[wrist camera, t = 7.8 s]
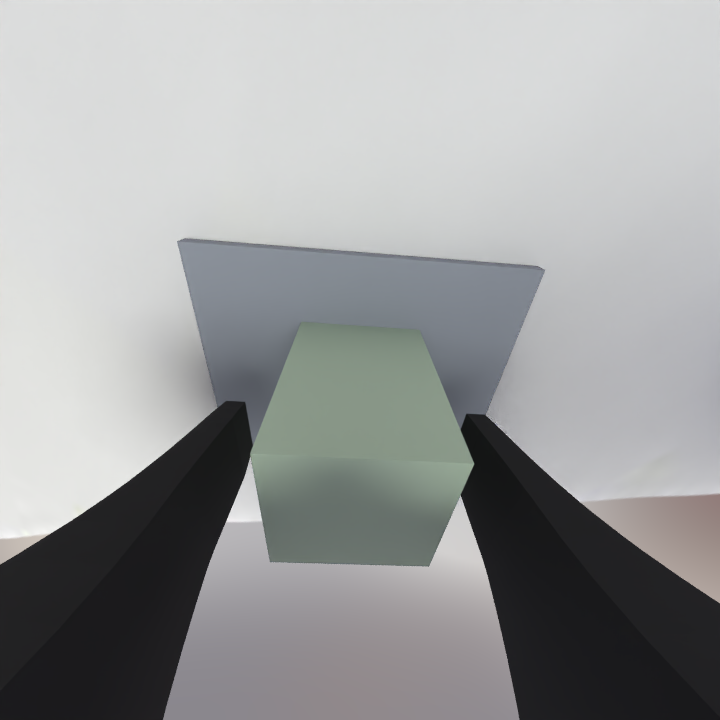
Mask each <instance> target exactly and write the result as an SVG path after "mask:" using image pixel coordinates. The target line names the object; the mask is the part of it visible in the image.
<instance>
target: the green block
mask: <svg viewBox="0 0 720 720" xmlns="http://www.w3.org/2000/svg"><path fill="white" fill-rule="evenodd" d="M250 456H251V461H252V467H253V472H254V478H255V483H256V488H257V494H258V499H259V505H260V510H261V516H262V521H263V526H264V532H265V538H266V543H267V548H268V554H269V559H270V562H288V563H325V564H326V563H327V564H361V565H396V566H429V565H430V563H431V561H432V558H433V556H434V554H435V552H436V549H437V547H438V545H439V542H440V540H441V538H442V536H443V533H444V531H445V529H446V527H447V524H448V522H449V520H450V518H451V515H452V513H453V511H454V509H455V506H456V504H457V502H458V500H459V497H460V495H461V493H462V490H463V488H464V486H465V484H466V481H467V479H468V477H469V475H470V472H471V470H472V468H473V466H474V462H473V460H472V457H471V455H470V452H469V450H468V447H467V445H466V443H465V440H464V438H463V435H462V433H461V430H460V428H459V425H458V423H457V420H456V418H455V416H454V413H453V411H452V408H451V406H450V403H449V401H448V398H447V396H446V394H445V391H444V389H443V386H442V384H441V381H440V379H439V376H438V374H437V371H436V369H435V367H434V364H433V362H432V359H431V357H430V354H429V352H428V349H427V347H426V344H425V342H424V340H423V337H422V335H421V332H420V330H415V329H400V328H385V327H371V326H356V325H341V324H327V323H312V322H301V324H300V326H299V329H298V331H297V334H296V337H295V339H294V342H293V344H292V347H291V350H290V352H289V355H288V357H287V360H286V362H285V365H284V368H283V370H282V373H281V375H280V378H279V380H278V383H277V386H276V388H275V391H274V393H273V396H272V398H271V401H270V404H269V406H268V409H267V411H266V414H265V417H264V419H263V422H262V424H261V427H260V429H259V432H258V435H257V437H256V440H255V442H254V445H253V447H252V450H251V453H250Z"/></svg>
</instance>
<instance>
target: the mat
mask: <svg viewBox="0 0 720 720" xmlns="http://www.w3.org/2000/svg"><path fill="white" fill-rule="evenodd" d="M177 243H178V247H179V251H180V255H181V259H182V264H183V268H184V272H185V276H186V280H187V284H188V288H189V292H190V296H191V300H192V305H193V309H194V313H195V317H196V321H197V325H198V329H199V333H200V337H201V341H202V346H203V350H204V354H205V358H206V362H207V366H208V370H209V374H210V378H211V382H212V386H213V391H214V395H215V399H216V403H217V407H219V406H220V405H222V404H223V403H224V402H225V401H239V402H245V403H246V409H247V414H248V420H249V426H250V432H251V437H252V443H253V445H254V442H255V440H256V437H257V435H258V432H259V429H260V427H261V424H262V422H263V419H264V417H265V414H266V411H267V409H268V406H269V404H270V401H271V398H272V396H273V393H274V391H275V388H276V386H277V383H278V380H279V378H280V375H281V373H282V370H283V368H284V365H285V362H286V360H287V357H288V355H289V352H290V350H291V347H292V344H293V342H294V339H295V337H296V334H297V331H298V329H299V326H300V324H301V322H312V323H327V324H341V325H356V326H371V327H385V328H400V329H415V330H420V332H421V335H422V337H423V340H424V342H425V344H426V347H427V349H428V352H429V354H430V357H431V359H432V362H433V364H434V367H435V369H436V371H437V374H438V376H439V379H440V381H441V384H442V386H443V389H444V391H445V394H446V396H447V398H448V401H449V403H450V406H451V408H452V411H453V413H454V416H455V418H456V420H457V423H458V425H459V428H460V430H461V427H462V424H463V421H464V419H465V416H466V414H484V415H485V414H486V412H487V410H488V407H489V405H490V402H491V400H492V397H493V395H494V393H495V390H496V388H497V385H498V383H499V381H500V378H501V376H502V373H503V371H504V368H505V366H506V364H507V361H508V359H509V356H510V354H511V351H512V349H513V347H514V344H515V342H516V339H517V337H518V335H519V332H520V330H521V327H522V325H523V322H524V320H525V318H526V315H527V313H528V310H529V308H530V305H531V303H532V301H533V298H534V296H535V293H536V291H537V289H538V286H539V284H540V281H541V279H542V276H543V274H544V272H545V270H544V269H542V268H540V267H538V266H527V265H515V264H502V263H489V262H476V261H464V260H451V259H438V258H426V257H413V256H400V255H387V254H375V253H362V252H349V251H337V250H324V249H311V248H298V247H286V246H273V245H260V244H248V243H235V242H222V241H209V240H197V239H183V240H180V241H177Z"/></svg>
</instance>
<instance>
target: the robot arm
mask: <svg viewBox="0 0 720 720" xmlns="http://www.w3.org/2000/svg"><path fill="white" fill-rule="evenodd" d="M461 433H462V435H463V438H464V440H465V443H466V445H467V447H468V450H469V452H470V455H471V457H472V460H473V462H474V466H473V468H472V470H471V472H470V475H469V477H468V479H467V481H466V484H465V486H464V488H463V490H462V493H461V497H462V500H463V503H464V506H465V509H466V512H467V515H468V518H469V521H470V524H471V526H472V529H473V532H474V535H475V538H476V540H477V544H478V547H479V550H480V552H481V555H482V558H483V561H484V565H485V568H486V571H487V575H488V579H489V583H490V587H491V591H492V595H493V599H494V603H495V607H496V611H497V615H498V619H499V623H500V628H501V632H502V636H503V641H504V645H505V650H506V654H507V659H508V663H509V669H510V673H511V678H512V683H513V688H514V693H515V698H516V703H517V708H518V713H519V718H520V720H720V603H718V602H717V601H715V600H714V599H712V598H710V597H709V596H708V595H706V594H705V593H703V592H701V591H700V590H699V589H697V588H696V587H694V586H693V585H691V584H690V583H688V582H687V581H685V580H684V579H682V578H681V577H679V576H678V575H676V574H675V573H673V572H672V571H671V570H669V569H668V568H666V567H665V566H664V565H662V564H661V563H659V562H658V561H656V560H655V559H653V558H652V557H651V556H649V555H648V554H646V553H645V552H643V551H642V550H641V549H639V548H638V547H637V546H635V545H634V544H633V543H631V542H630V541H628V540H627V539H626V538H624V537H623V536H622V535H620V534H619V533H618V532H617V531H615V530H614V529H613V528H612V527H610V526H609V525H608V524H606V523H605V522H604V521H603V520H601V519H600V518H599V517H597V516H596V515H595V514H594V513H592V512H591V511H590V510H589V509H587V508H586V507H585V506H584V505H583V504H581V503H580V502H579V501H578V500H577V499H575V498H574V497H573V496H572V495H571V494H570V493H568V492H567V491H566V490H565V489H564V488H563V487H561V486H560V485H559V484H558V483H557V482H556V481H555V480H553V479H552V478H551V477H550V476H549V475H548V474H547V473H546V472H545V471H543V470H542V469H541V468H540V467H539V466H538V465H537V464H536V463H535V462H534V461H533V460H532V459H531V458H530V457H528V456H527V455H526V454H525V453H524V452H523V451H522V450H521V449H520V448H519V447H518V446H517V445H516V444H515V443H514V442H513V441H512V440H511V439H510V438H509V437H508V436H507V435H506V434H505V433H504V432H503V431H502V430H500V429H499V428H498V427H497V426H496V425H495V424H494V423H493V422H492V421H491V420H490V419H489V418H488V417H487V416H486V415H484V414H466V416H465V419H464V421H463V424H462V427H461ZM252 447H253V443H252V437H251V432H250V426H249V420H248V414H247V409H246V403H245V402H239V401H225V402H224V403H223V404H222V405H220V406H219V407H218V408H217V409H216V410H215V411H213V412H212V413H211V414H210V415H209V416H208V417H206V418H205V419H204V420H203V421H202V422H201V423H200V424H198V425H197V426H196V427H195V428H194V429H193V430H192V431H190V432H189V433H188V434H187V435H186V436H185V437H183V438H182V439H181V440H180V441H179V442H177V443H176V444H175V445H174V446H173V447H171V448H170V449H169V450H168V451H167V452H165V453H164V454H163V455H162V456H160V457H159V458H158V459H157V460H155V461H154V462H153V463H152V464H150V465H149V466H148V467H146V468H145V469H144V470H143V471H141V472H140V473H139V474H137V475H136V476H135V477H134V478H132V479H131V480H130V481H128V482H127V483H126V484H124V485H123V486H121V487H120V488H119V489H117V490H116V491H114V492H113V493H112V494H110V495H109V496H107V497H106V498H104V499H103V500H102V501H100V502H99V503H97V504H96V505H94V506H93V507H91V508H90V509H88V510H87V511H85V512H84V513H83V514H81V515H79V516H78V517H76V518H75V519H73V520H72V521H70V522H69V523H67V524H66V525H64V526H62V527H61V528H59V529H57V530H56V531H54V532H53V533H51V534H49V535H48V536H46V537H45V538H43V539H41V540H40V541H39V542H37V543H35V544H34V545H32V546H30V547H29V548H27V549H26V550H24V551H22V552H21V553H19V554H18V555H16V556H14V557H12V558H11V559H9V560H7V561H6V562H4V563H2V564H1V565H0V720H163V717H164V713H165V709H166V705H167V701H168V698H169V695H170V691H171V688H172V684H173V681H174V677H175V673H176V670H177V666H178V663H179V659H180V656H181V652H182V649H183V645H184V642H185V639H186V635H187V632H188V629H189V625H190V622H191V619H192V615H193V612H194V609H195V605H196V602H197V599H198V596H199V593H200V590H201V587H202V583H203V580H204V577H205V574H206V571H207V568H208V565H209V562H210V560H211V557H212V554H213V551H214V549H215V546H216V544H217V542H218V539H219V537H220V535H221V532H222V530H223V527H224V525H225V523H226V520H227V518H228V515H229V513H230V511H231V508H232V506H233V503H234V501H235V499H236V496H237V494H238V491H239V489H240V486H241V484H242V481H243V479H244V476H245V473H246V470H247V466H248V463H249V459H250V453H251V450H252Z"/></svg>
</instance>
